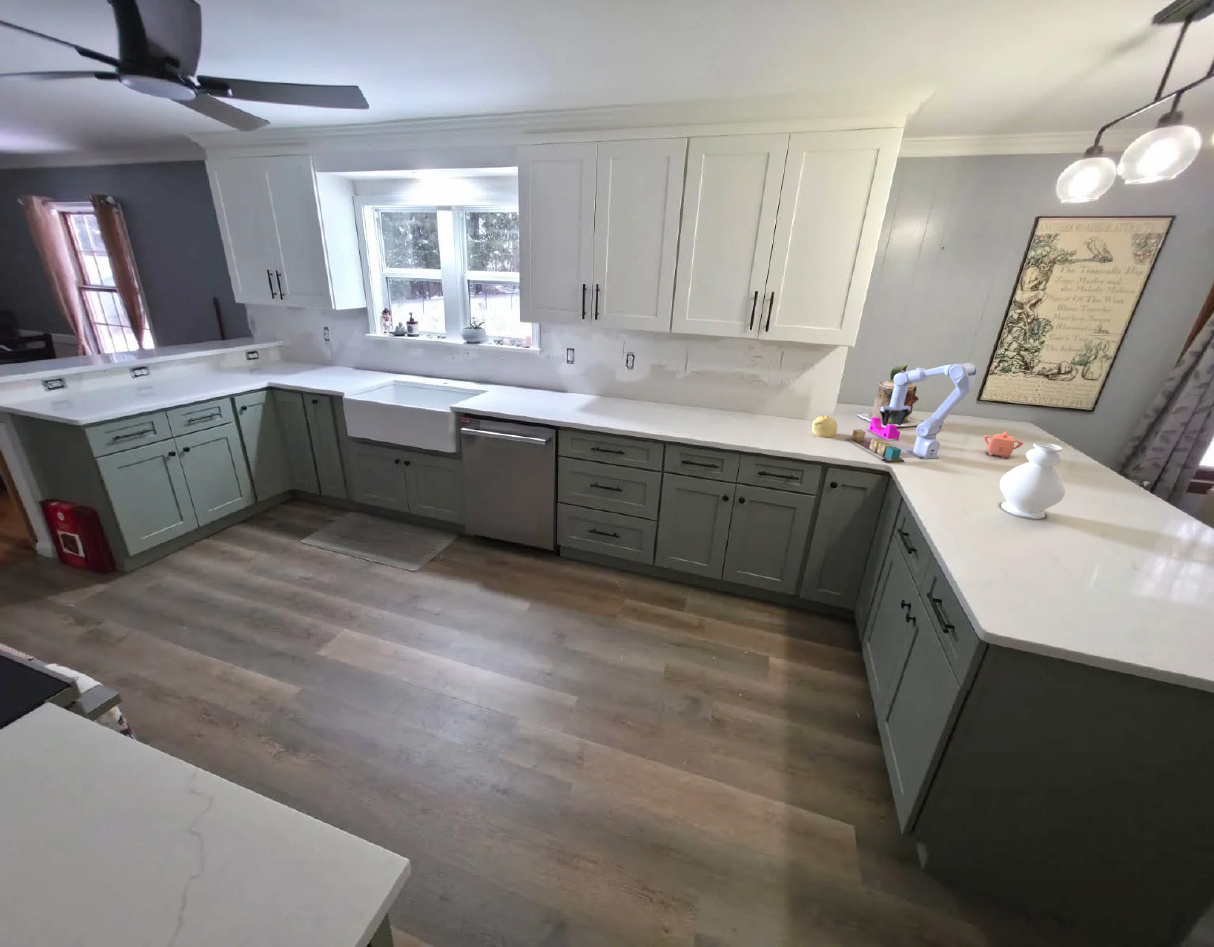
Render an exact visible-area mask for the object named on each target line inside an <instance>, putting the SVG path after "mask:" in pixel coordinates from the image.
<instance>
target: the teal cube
mask: <svg viewBox="0 0 1214 947" xmlns="http://www.w3.org/2000/svg"><path fill="white" fill-rule="evenodd" d="M901 452H902V449H901V448H899V447H897V446H893V447H887V450H886V454H885V457H887V458H889V459H899V457H901Z"/></svg>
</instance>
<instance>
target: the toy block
mask: <svg viewBox="0 0 1214 947" xmlns="http://www.w3.org/2000/svg"><path fill="white" fill-rule="evenodd" d="M897 428H898V427H897V426H896V425H894V424H892V425H887V426H886V427H882V425H881V418H879V417H872V419H871V422H870V423H869V428H868V430H870V432H873V433H876V434H877V435H879V436H881V437H883V438H885V439H886V440H890V439H891V440H897V441H898V440H899V439H900V434H901V431H899V430H898V429H897Z"/></svg>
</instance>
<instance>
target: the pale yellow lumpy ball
mask: <svg viewBox="0 0 1214 947" xmlns="http://www.w3.org/2000/svg"><path fill="white" fill-rule="evenodd" d="M811 430H812V434H814V435H815V436H817V437H819V438H833V437H834V436H835V435H836V434H837V431H838V423H837V420H835V419H834V418H833V417H832V416H829V415H823V414H822V415H820V416H817V417H816V418H815V419H814V420H813V421H812V423H811Z"/></svg>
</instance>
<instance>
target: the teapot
mask: <svg viewBox="0 0 1214 947" xmlns="http://www.w3.org/2000/svg"><path fill="white" fill-rule="evenodd" d="M988 438H991V439H990V440H988ZM983 441H984V442H985V443H986V444H987V447H986V449H987V450H986V451H987V453H988V454H987V455H988V456H991V457H993V456H995V455H996V456H1000V457H1001V459H1007V458H1008V457H1010V456H1011V455H1012V454H1013V453H1014V452H1013V451H1014V450H1016V449H1018V448H1021V447H1022V446H1023V445H1024V441H1022V440H1016V439H1015V437H1014V436H1013V435H1012V436H1011V435H1009V434H1008V431H1007V430H1004V431H1003V433H1001V434H1000V433H994V434H993V435H990V434H985V435H983ZM1015 443H1018V444H1017V445H1016V446H1015Z"/></svg>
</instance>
